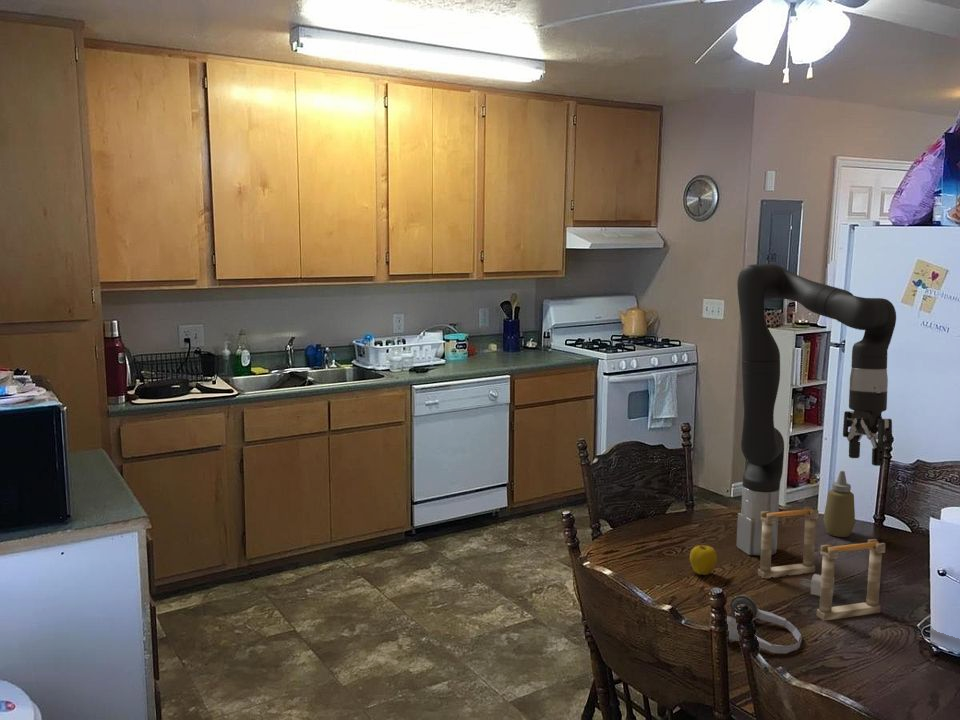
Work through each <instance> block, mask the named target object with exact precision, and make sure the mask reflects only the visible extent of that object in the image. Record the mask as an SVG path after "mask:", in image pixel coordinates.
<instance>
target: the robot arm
mask: <svg viewBox="0 0 960 720" xmlns="http://www.w3.org/2000/svg"><path fill="white" fill-rule="evenodd" d="M736 284H737V297H738V307H739V315H740V316H739V317H740V326H741V328H740V329H741V330H740V331H741V376H742V377H741V378H742V380H741V381H742V398H743V399H742V400H743V421H742V431H741V444H740V447H741V452H742V455H743V457H744V458H745V459H746V466H745V470H744V472H743V474H742V487H741V488H742V489H741V490H742V491H741V512H738V513H737V523H736V546H737V548H738V549H739V550H741V551H742V552H744V553H746V554H747V555H748V556H758V557H759V556H760V557H761V539H762V520H760V516H761V512H763V511H769V513H775V512H779V509H780V508H779V507H780V506H779V505H780V488H781V481H782V477H783V469H784V456H785V441H784V437H783V435H782V433H781V431H779V429H777V428H776V427H775V422H774V417H775V416H774V415H775V413H774V412H775V404H776V400H777V397H778V392H779V386H780V381H781V380H780V379H781V353H780V348H779V346H778V343H777V342H776V339H774V336H773V335H772V333H771V331H770V328H769V327H768V325H767V320H766V316H765V315H766V314H765V301H771V300H774V299H777V300H778V299H779V300H788V301H789V300H790V301H794V302H795V303H799V304H801V306H803V307H804V308H805V309H807V310H808V311H809V312H811V313H813V314H816V315H819V316H822V317H826V318H828V319H832V320H836V321H837V322H839V323H841V324H842V325H844V326H846V327H848V328H851V329H855V330H859V331H864V334H863V337H862V339H861V340H860V341H857V342H855V343H854V344H853V345H852V349H851V369H850V375H849V389H848V391H849V392H848V408H849V410H852V411H844V414H843V415H844V416H843V426H842V427H843V428H842V436H843V438H846V439H847V441H848V457H849V458H850V459H859V458H860V455H861V439H862V437H863V436H866V438H867V439H868V440H869V441H870V443H871V446H872V449H871V465H872V466H876V467H877V466H878V467H879V466H880V467H882V466H883V465H884V461H885V459H884V458H885V450H886V448H888V447H889V448H891V447H892V446H893V421H892V419H891V418H883V417H882V414H883V412H885V411H886V410H887V409H888V384H889V381H888V380H889V379H888V350H889V347H890V344H891V341H892V337H893V334H894V332H895V328H896V327H895V326H896V325H897V324H896V322H897V311H896V309H895V306H894V304H893V303H892V302H891V301H890V300H889V299H886V298H882V297H881V298H880V297H878V298H877V297H876V298H875V297H862V296H858V295H854V294H853V293H852V292H851V291H848V290H846V289H843V288H839V287H835V286H832V285H829V284H824V283H820V282H817V281H813V280H811V279H807V278H806V277H803V276H800V275H798V274H796V273H794V272H793V271H791V270H788V269H786V268H784V267H782V266H780V265H778V264H775V263H757V264H748V265H745V266H743V267H742V269H741V270H740V271H739V273H738V277H737V283H736ZM885 436H886V440H885ZM778 524H779V517H776V518H775V523H773V530H772V550H771V556H772V555H775V554H776V553H777V549H778V530H779V529H778V528H779V525H778Z"/></svg>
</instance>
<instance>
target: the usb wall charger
mask: <svg viewBox="0 0 960 720" xmlns="http://www.w3.org/2000/svg"><path fill="white" fill-rule="evenodd" d="M799 585H800V586H804V587H807V588H810V595H811V596H816V597H820V591H821V574H819V573H818V574H817V573H814V574H813V575H812V577H811V580H810V579H806V578H801V581H799ZM834 592H835V577H834V578H833V594H832V597H833V596H834Z"/></svg>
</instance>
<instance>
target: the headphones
mask: <svg viewBox="0 0 960 720" xmlns="http://www.w3.org/2000/svg"><path fill="white" fill-rule="evenodd" d="M723 590H724V591H723V592H726V590H725V589H723ZM727 595H729V592H727V593H726V594H725V596H727ZM726 601H727V602H729V601H728V600H727V599H726ZM740 604H745V605H748V606H750V607H751V608H752V610H753V612H754V619H755V618H758V620H761V621H766V622H769V623H772V624H775V625H779V626H782V627H785V629H787V630H788V631H789V632H790V633H791V634H792V636H794V638H795V639H796V641H797V642H796V643H794V644H789V645H780V644H772V643H770V642H769V641H766V640H765V639H763V638H761V637H758V635H755V636H756V637H757V640H758V642H759V646H760V648H759V649H762V650H765V651H768V652H770V653H773V654H786V655H787V654H789V653H792V652H794V651H797V650H798V649H799V648H800V647H801V643H802V634H801V632H800V631H799V629H798V628H797V627H796V626H795V625H794V624H792V623H791V621H789V620H787V618H785V617H783V616H779V615H777V614H775V613H773V612H770V611H766V610H761V609H759V608H758V607H757V604H756V602H755V601H754V600H753V599H752V598H751V597H749V596H747V595H745V594H744V595H743V594H741V595H740V594H738V595H736V596H734V597H733V598H732V599H731V601H730V605H729V606H730V611H731V613H732V614H733V615H734V610H735V608H736V607H737V606H738V605H740ZM735 618H736V617H735V616H730V615H727V624H728V631H729V640H731V641H732V640H733V641H735V640H736V641H738V642H739V641H740V640H739V634H738V630H737V623H736V619H737V618H736V619H735Z"/></svg>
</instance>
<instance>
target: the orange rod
mask: <svg viewBox="0 0 960 720" xmlns="http://www.w3.org/2000/svg"><path fill="white" fill-rule="evenodd" d="M878 543H879V541H877V542H868V541H867V542H861V543H853V544H845V545H835V546H830V547H828V548H827V551H828V549H838V553H841V552H849V551H856V550H857V551H858V550H865V549H867V548H874V547H876V544H878Z"/></svg>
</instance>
